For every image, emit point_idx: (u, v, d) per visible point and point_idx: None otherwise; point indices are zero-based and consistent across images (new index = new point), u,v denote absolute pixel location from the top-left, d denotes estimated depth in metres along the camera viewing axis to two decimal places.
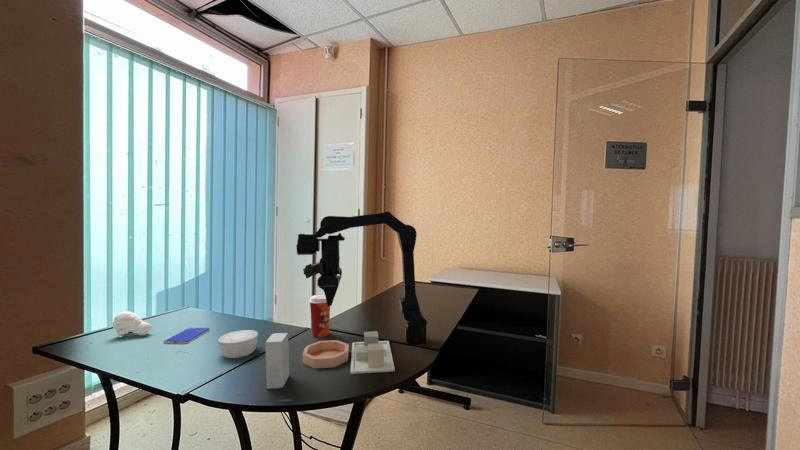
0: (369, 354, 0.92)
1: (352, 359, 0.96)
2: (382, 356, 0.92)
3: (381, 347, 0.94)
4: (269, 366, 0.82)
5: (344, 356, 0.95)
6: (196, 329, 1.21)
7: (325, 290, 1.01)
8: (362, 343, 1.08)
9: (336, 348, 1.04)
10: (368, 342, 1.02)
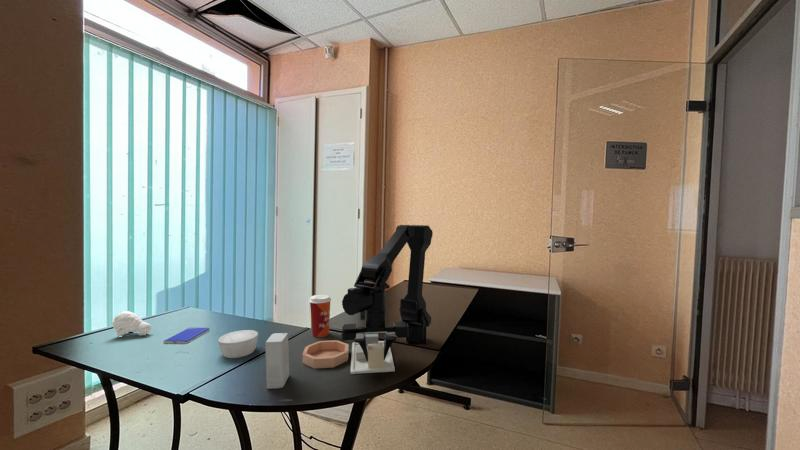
0: (369, 354, 0.92)
1: (352, 359, 0.96)
2: (382, 356, 0.92)
3: (381, 347, 0.94)
4: (269, 366, 0.82)
5: (344, 356, 0.95)
6: (196, 329, 1.21)
7: None
8: None
9: (336, 348, 1.04)
10: (368, 342, 1.02)
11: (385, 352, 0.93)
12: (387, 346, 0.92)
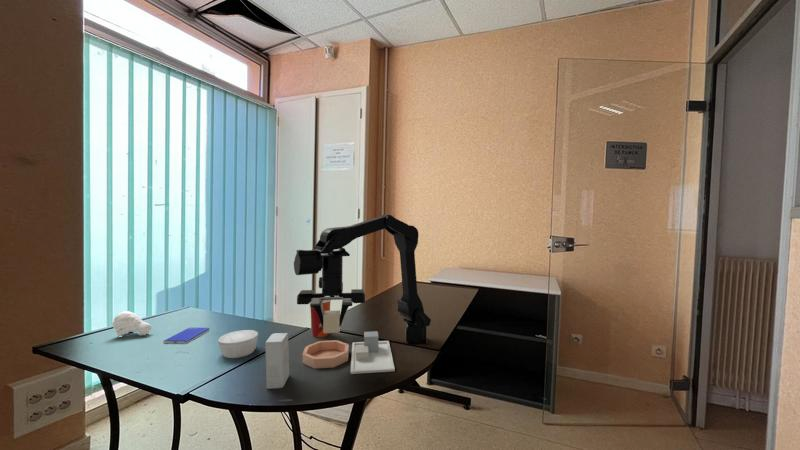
0: (324, 319, 0.92)
1: (352, 359, 0.96)
2: (338, 321, 0.92)
3: (337, 313, 0.94)
4: (269, 366, 0.82)
5: (344, 356, 0.95)
6: (196, 329, 1.21)
7: None
8: (362, 343, 1.08)
9: (336, 348, 1.04)
10: (368, 342, 1.02)
11: (341, 318, 0.93)
12: (343, 312, 0.93)
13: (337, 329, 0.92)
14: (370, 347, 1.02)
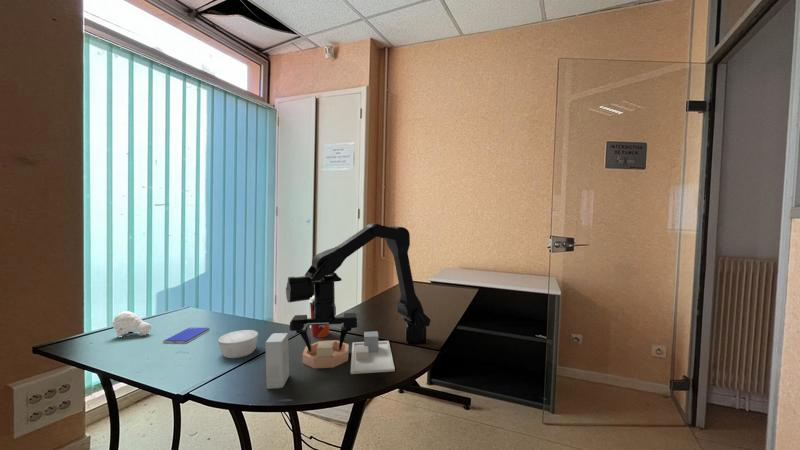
0: (317, 352, 0.93)
1: (352, 359, 0.96)
2: (331, 354, 0.93)
3: (330, 345, 0.95)
4: (269, 366, 0.82)
5: (344, 356, 0.95)
6: (196, 329, 1.21)
7: None
8: (362, 343, 1.08)
9: (336, 348, 1.04)
10: (368, 342, 1.02)
11: (340, 342, 0.94)
12: (342, 336, 0.94)
13: None
14: (370, 347, 1.02)
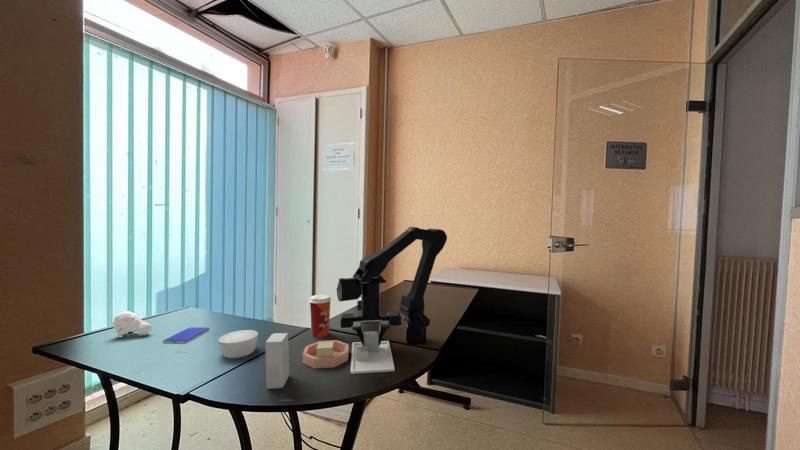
0: (317, 352, 0.93)
1: (352, 359, 0.96)
2: (331, 354, 0.93)
3: (330, 345, 0.95)
4: (269, 366, 0.82)
5: (344, 356, 0.95)
6: (196, 329, 1.21)
7: None
8: None
9: (336, 348, 1.04)
10: (368, 342, 1.02)
11: (379, 339, 1.03)
12: (381, 333, 1.02)
13: None
14: (370, 347, 1.02)
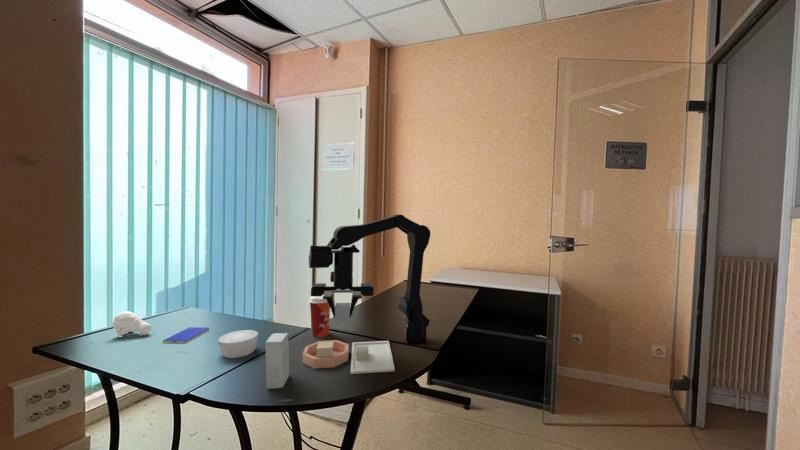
0: (317, 352, 0.93)
1: (352, 359, 0.96)
2: (331, 354, 0.93)
3: (330, 345, 0.95)
4: (269, 366, 0.82)
5: (344, 356, 0.95)
6: (196, 329, 1.22)
7: None
8: (362, 343, 1.08)
9: (336, 348, 1.04)
10: (339, 312, 0.99)
11: (351, 309, 1.01)
12: (353, 304, 1.00)
13: None
14: (341, 317, 0.99)
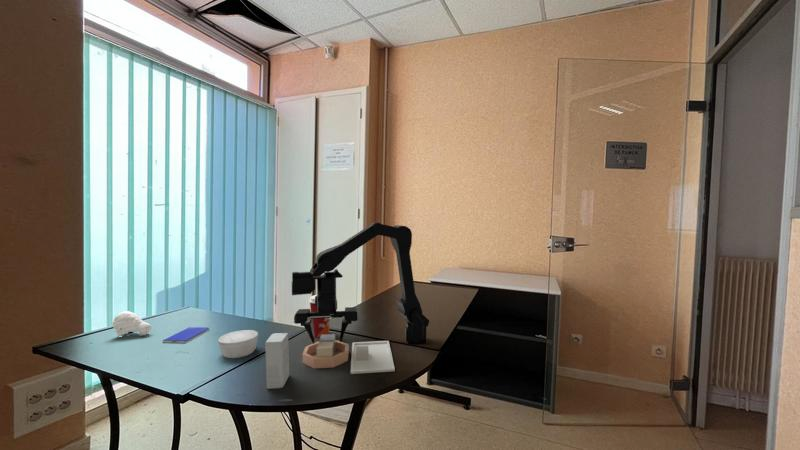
0: (317, 352, 0.93)
1: (352, 359, 0.96)
2: (331, 354, 0.93)
3: (330, 345, 0.95)
4: (269, 366, 0.82)
5: (344, 356, 0.95)
6: (196, 329, 1.22)
7: None
8: (362, 343, 1.08)
9: (336, 348, 1.04)
10: None
11: (341, 334, 1.00)
12: (343, 329, 1.00)
13: None
14: None
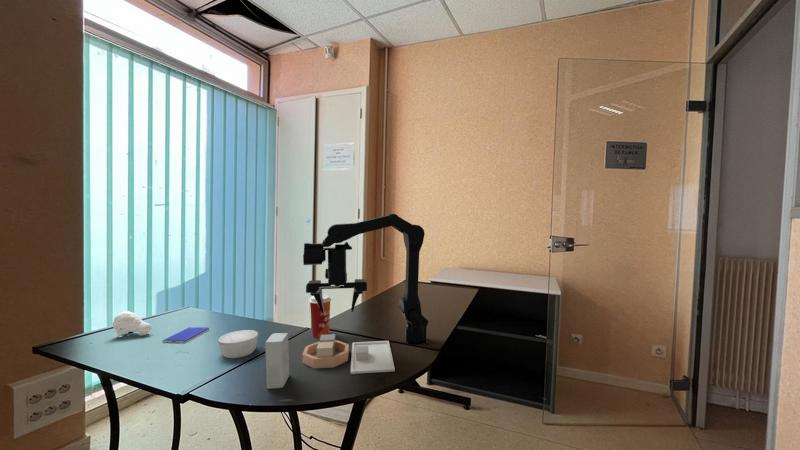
0: (317, 352, 0.93)
1: (352, 359, 0.96)
2: (331, 354, 0.93)
3: (330, 345, 0.95)
4: (269, 366, 0.82)
5: (344, 356, 0.95)
6: (196, 329, 1.22)
7: None
8: (362, 343, 1.08)
9: (336, 348, 1.04)
10: None
11: (353, 304, 1.04)
12: (354, 299, 1.03)
13: None
14: None
